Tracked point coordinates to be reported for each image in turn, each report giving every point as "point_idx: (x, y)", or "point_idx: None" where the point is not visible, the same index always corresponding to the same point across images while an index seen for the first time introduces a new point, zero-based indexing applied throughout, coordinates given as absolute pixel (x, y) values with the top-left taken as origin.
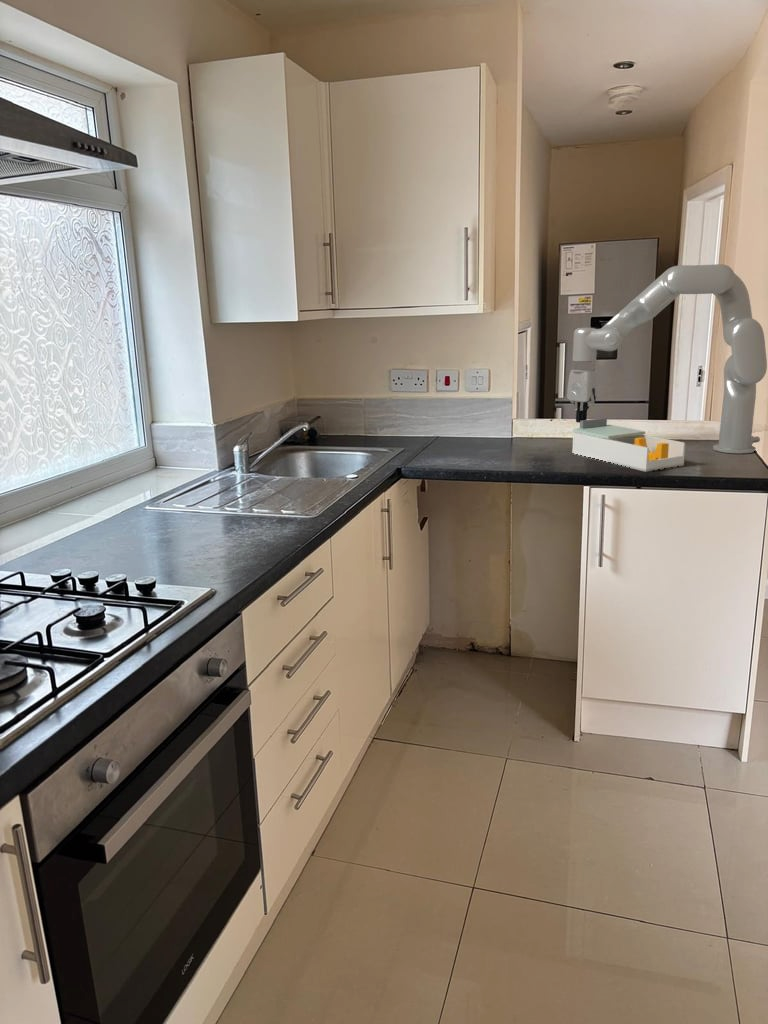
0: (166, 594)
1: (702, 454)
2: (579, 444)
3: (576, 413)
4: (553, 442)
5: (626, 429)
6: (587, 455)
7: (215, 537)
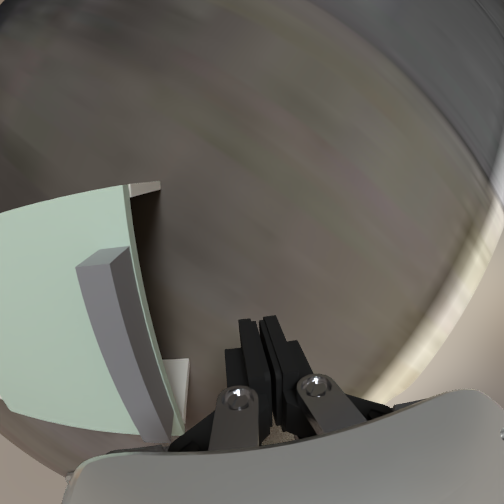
0: None
1: (66, 450)
2: None
3: (285, 352)
4: (398, 257)
5: (45, 404)
6: None
7: None
